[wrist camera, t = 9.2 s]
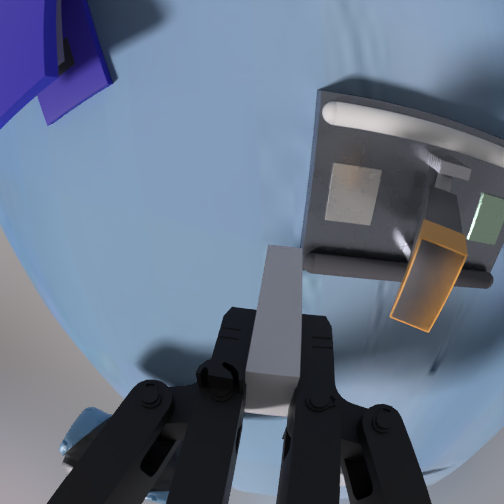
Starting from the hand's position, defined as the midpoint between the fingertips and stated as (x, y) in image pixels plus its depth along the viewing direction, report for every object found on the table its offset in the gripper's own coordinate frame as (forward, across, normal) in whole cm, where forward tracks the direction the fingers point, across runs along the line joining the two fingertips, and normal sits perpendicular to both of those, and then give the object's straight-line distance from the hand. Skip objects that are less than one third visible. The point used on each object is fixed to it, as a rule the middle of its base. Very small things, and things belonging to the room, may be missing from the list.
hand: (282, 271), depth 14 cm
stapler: (+16, +27, -20) cm, 38 cm away
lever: (+11, -13, 0) cm, 17 cm away
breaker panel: (+16, -13, 0) cm, 20 cm away
